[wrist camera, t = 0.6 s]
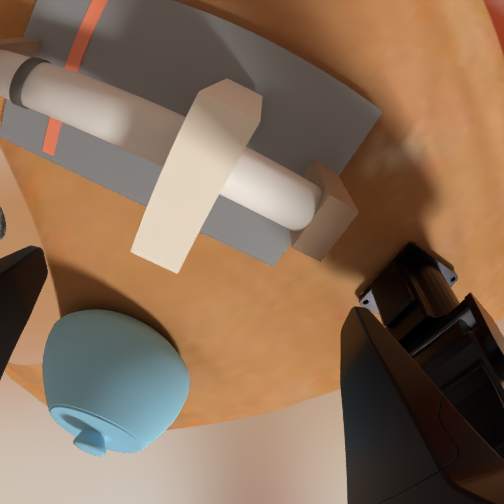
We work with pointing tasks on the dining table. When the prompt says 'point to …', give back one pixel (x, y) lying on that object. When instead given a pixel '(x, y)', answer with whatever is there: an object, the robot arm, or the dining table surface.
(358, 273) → the dining table surface
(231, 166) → the collar
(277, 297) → the dining table surface
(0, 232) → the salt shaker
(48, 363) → the sugar bowl
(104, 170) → the pipe stand
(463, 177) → the dining table surface
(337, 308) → the dining table surface
